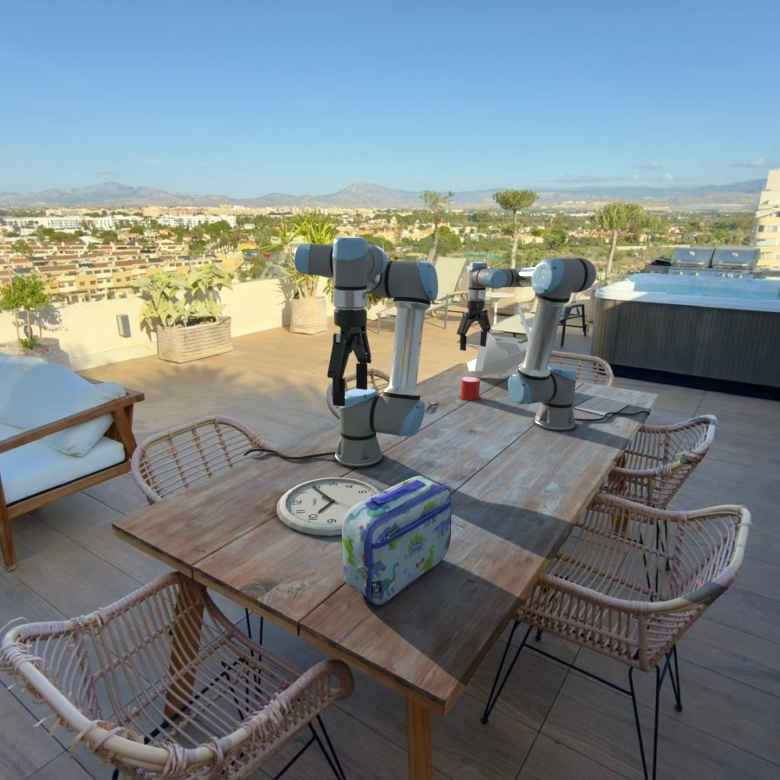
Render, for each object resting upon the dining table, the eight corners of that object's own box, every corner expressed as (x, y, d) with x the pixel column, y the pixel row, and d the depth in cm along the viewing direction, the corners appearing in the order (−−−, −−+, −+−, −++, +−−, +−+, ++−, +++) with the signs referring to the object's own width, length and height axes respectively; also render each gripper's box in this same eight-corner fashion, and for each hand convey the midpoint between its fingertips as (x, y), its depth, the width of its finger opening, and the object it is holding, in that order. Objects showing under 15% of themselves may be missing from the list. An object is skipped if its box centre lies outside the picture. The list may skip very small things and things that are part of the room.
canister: (482, 399, 233) (483, 381, 231) (465, 401, 231) (466, 382, 228) (473, 394, 241) (474, 376, 238) (457, 395, 238) (458, 377, 236)
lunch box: (371, 618, 102) (371, 524, 95) (336, 591, 109) (334, 502, 103) (455, 562, 119) (460, 479, 113) (420, 542, 126) (423, 463, 120)
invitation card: (608, 416, 214) (573, 407, 224) (608, 416, 214) (573, 408, 224) (628, 404, 229) (594, 396, 238) (628, 405, 229) (594, 397, 238)
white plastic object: (487, 418, 267) (468, 395, 242) (469, 346, 289) (449, 318, 264) (558, 394, 255) (545, 368, 230) (533, 321, 277) (518, 289, 252)
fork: (422, 411, 216) (422, 407, 215) (433, 400, 230) (433, 396, 230) (428, 412, 215) (429, 407, 215) (438, 401, 230) (439, 396, 229)
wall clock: (392, 527, 129) (268, 531, 127) (391, 533, 130) (269, 537, 127) (383, 473, 158) (282, 475, 155) (383, 478, 158) (282, 480, 156)
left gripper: (342, 317, 106) (343, 415, 112) (384, 302, 129) (383, 384, 135) (309, 314, 108) (312, 411, 115) (356, 300, 131) (356, 381, 137)
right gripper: (487, 296, 233) (484, 343, 239) (450, 300, 217) (447, 350, 223) (501, 298, 228) (497, 345, 234) (463, 302, 212) (460, 353, 218)
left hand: (350, 396), depth 125 cm, fingers open, 13 cm apart
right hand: (473, 348), depth 229 cm, fingers open, 13 cm apart
